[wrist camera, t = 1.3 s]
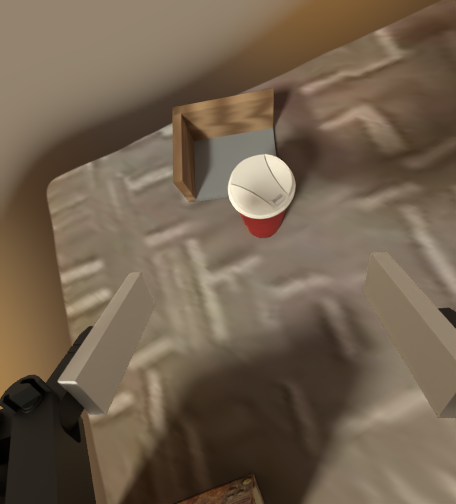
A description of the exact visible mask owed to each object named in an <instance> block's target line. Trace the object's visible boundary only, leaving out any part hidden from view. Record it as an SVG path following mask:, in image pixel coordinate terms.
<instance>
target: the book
mask: <svg viewBox="0 0 456 504" xmlns="http://www.w3.org/2000/svg"><path fill="white" fill-rule="evenodd" d="M175 504H265V503H264V501H263V498H262V495H261V493H260V490H259V487H258V485H257V482H256V479H255V477H254V474H253V473H252V474H250V475H247V476H245V477H242V478H239V479H237V480H234V481H232V482H229V483H226V484H224V485H221V486H219V487H216V488H213V489H211V490H208V491H206V492H203V493H201V494H198V495H195V496H193V497H190V498H188V499H185V500H182V501H180V502H177V503H175Z"/></svg>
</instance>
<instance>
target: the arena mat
mask: <svg viewBox="0 0 456 504" xmlns="http://www.w3.org/2000/svg"><path fill="white" fill-rule="evenodd" d="M262 154H268V155H272V156H275V157H276V151H275V142H274V133H273V128H270V129H264V130H258V131H252V132H246V133H240V134H234V135H228V136H222V137H216V138H210V139H204V140H198V141H194V158H195V189H196V200H193V201H192V202H196V201H204V200H212V199H220V198H228V197H229V195H228V184H229V180H230V177H231V174H232V172H233V170H234V169H235V168H236V166H237V165H238V164H239V163H240V162H242V161H243V160H245V159H247V158H249V157H252V156H256V155H262Z"/></svg>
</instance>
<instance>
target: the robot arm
mask: <svg viewBox="0 0 456 504" xmlns="http://www.w3.org/2000/svg"><path fill="white" fill-rule="evenodd" d="M363 292H364V294H365V295H366V297H367V299H368V300H369V302H370V304H371V306H372V307H373V309H374V311H375V312H376V314H377V316H378V317H379V319H380V321H381V322H382V324H383V326H384V327H385V329H386V331H387V333H388V334H389V336H390V338H391V339H392V341H393V343H394V344H395V346H396V348H397V349H398V351H399V353H400V354H401V356H402V358H403V360H404V361H405V363H406V365H407V366H408V368H409V370H410V371H411V373H412V375H413V376H414V378H415V380H416V381H417V383H418V385H419V387H420V388H421V390H422V392H423V393H424V395H425V397H426V398H427V400H428V402H429V403H430V405H431V407H432V408H433V410H434V412H435V414H436V415H437V417H438V418H456V312H455V311H454V310H452V309H450V308H437V307H436V306H435V305H434V304H433V303H432V302H431V301H430V300H429V298H428V297H427V296H426V295H425V294H424V293H423V292H422V291H421V290H420V288H419V287H418V286H417V285H416V284H415V283H414V282H413V281H412V279H411V278H410V277H409V276H408V275H407V274H406V273H405V272H404V271H403V269H402V268H401V267H400V266H399V265H398V264H397V263H396V262H395V261H394V259H393V258H392V257H391V256H390V255H389V254H388V253H387V252H377V253H371V256H370V261H369V265H368V270H367V275H366V280H365V285H364V289H363ZM154 306H155V302H154V300H153V298H152V295H151V293H150V291H149V289H148V286H147V284H146V282H145V280H144V277H143V275H142V273H141V272H135V273H129V274H128V276H127V277H126V279H125V280H124V282H123V283H122V285H121V286H120V288H119V289H118V291H117V292H116V294H115V295H114V297H113V298H112V300H111V301H110V303H109V304H108V306H107V307H106V309H105V310H104V312H103V313H102V315H101V316H100V318H99V319H98V321H97V322H96V324H95V325H94V326H89V327H88V328H87V329H86V330H85V331H83V332H82V333H81V334H80V335H79V337H78V338H77V339H76V341H75V342H74V344H73V346H71V348H70V349H69V351H68V353H67V354H66V355H65V357H64V358H63V359H62V361H61V362H60V364H59V365H58V367H57V368H56V369H55V371H54V372H53V373H52V375H51V376H50V378H49V379H48V381H47V382H46V383H45V382H44V381H43V380H42V379H41V378H40V377H38V376H36V375H28V376H26V377H24V378H21V379H20V380H18V381H17V382H15V383H14V384H12V385H11V386H10V387H9V388H8V389H7V390H6V391H5V393H4V394H3V396H2V397H1V399H0V406H1V407H3V409H1V410H0V504H96V500H95V494H94V488H93V482H92V475H91V468H90V462H89V456H88V449H87V444H86V437H85V430H84V424H83V420H82V418H81V416H80V415H81V413H82V412H83V410H84V409H86V411H87V412H88V413H89V414H90V415H106V414H107V412H108V410H109V407H110V405H111V403H112V401H113V398H114V396H115V394H116V392H117V389H118V387H119V385H120V383H121V380H122V378H123V376H124V374H125V371H126V369H127V367H128V365H129V362H130V360H131V358H132V356H133V353H134V351H135V349H136V347H137V344H138V342H139V340H140V338H141V335H142V333H143V331H144V329H145V326H146V324H147V322H148V320H149V317H150V315H151V313H152V311H153V308H154Z"/></svg>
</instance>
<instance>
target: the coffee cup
mask: <svg viewBox="0 0 456 504" xmlns="http://www.w3.org/2000/svg"><path fill="white" fill-rule="evenodd" d="M295 187H296V186H295V179H294V176H293V173H292V171H291V170H290V168H289V167H288V166H287V165H286V164H285V163H284V162H283V161H282V160H281V159H279V158H277V157H275V156H272V155H268V154H262V155H256V156H252V157H249V158H247V159H245V160H243V161H242V162H240V163H239V164H238V165H237V166H236V168H235V169H234V170H233V172H232V174H231V177H230V180H229V184H228V195H229V199H230V201H231V203H232V205H233V206H234V208H235V209H236V210H237V211H238V212H239V213H240V215H241V217H242V219H243V221H244V223H245V225H246V227H247V228H248V230H249V231H250V233H251V234H253V235H254V236H256V237H259V238H267V237H270V236H272V235H274V234H275V233H276V232H277V230H278V229H279V227H280V224H281V222H282V219H283V216H284V214H285V211H286V208H287V207H288V205H289V204H290V203H291V201H292V199H293V197H294V193H295Z"/></svg>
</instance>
